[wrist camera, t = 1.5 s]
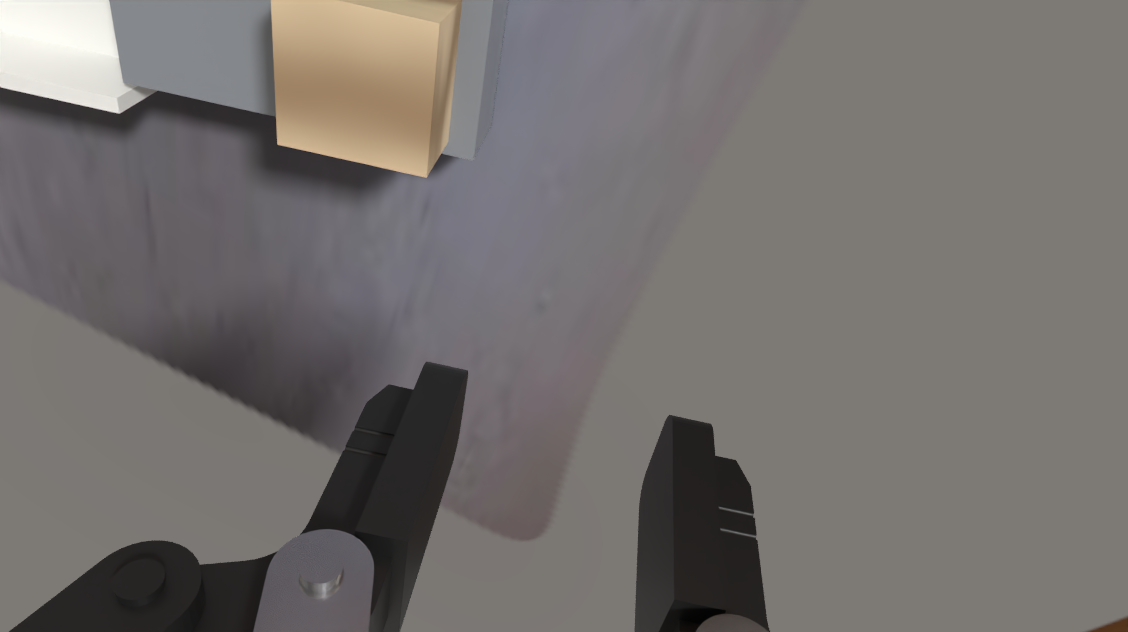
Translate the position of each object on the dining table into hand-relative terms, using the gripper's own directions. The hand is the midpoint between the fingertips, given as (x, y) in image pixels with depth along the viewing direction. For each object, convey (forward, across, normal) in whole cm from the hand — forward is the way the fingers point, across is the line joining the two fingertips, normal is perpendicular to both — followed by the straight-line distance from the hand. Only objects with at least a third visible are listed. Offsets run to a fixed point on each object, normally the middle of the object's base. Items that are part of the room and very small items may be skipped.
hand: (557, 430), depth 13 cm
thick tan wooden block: (+16, +8, 0) cm, 18 cm away
